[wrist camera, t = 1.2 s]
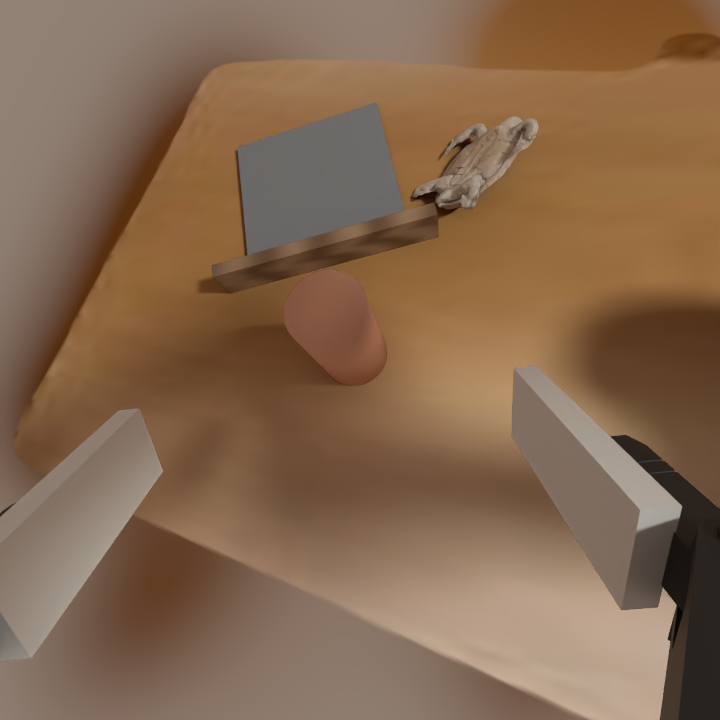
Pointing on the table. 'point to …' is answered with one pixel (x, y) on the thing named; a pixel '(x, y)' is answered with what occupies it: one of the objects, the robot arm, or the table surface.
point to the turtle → (480, 162)
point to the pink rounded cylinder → (336, 326)
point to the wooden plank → (328, 249)
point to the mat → (317, 179)
